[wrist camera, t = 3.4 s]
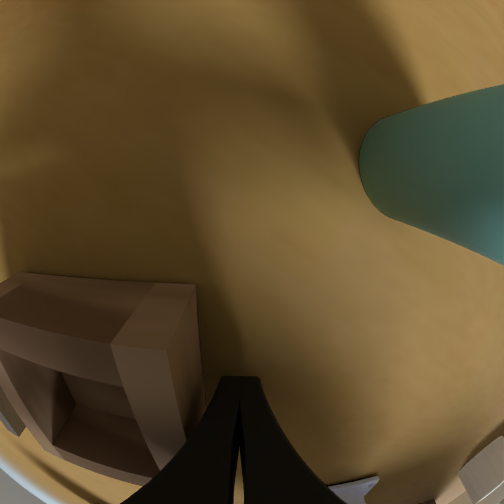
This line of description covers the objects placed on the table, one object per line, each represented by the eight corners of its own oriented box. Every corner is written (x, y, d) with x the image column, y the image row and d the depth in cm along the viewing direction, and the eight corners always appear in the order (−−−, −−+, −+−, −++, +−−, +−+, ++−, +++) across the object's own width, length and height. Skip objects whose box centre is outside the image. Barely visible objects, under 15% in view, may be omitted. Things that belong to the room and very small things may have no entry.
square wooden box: (210, 436, 10) (203, 496, 7) (70, 407, 10) (45, 450, 7) (195, 284, 8) (166, 350, 5) (19, 271, 8) (-35, 305, 5)
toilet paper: (519, 421, 16) (538, 447, 9) (465, 473, 18) (479, 501, 12) (515, 415, 15) (539, 445, 8) (450, 475, 17) (467, 508, 10)
